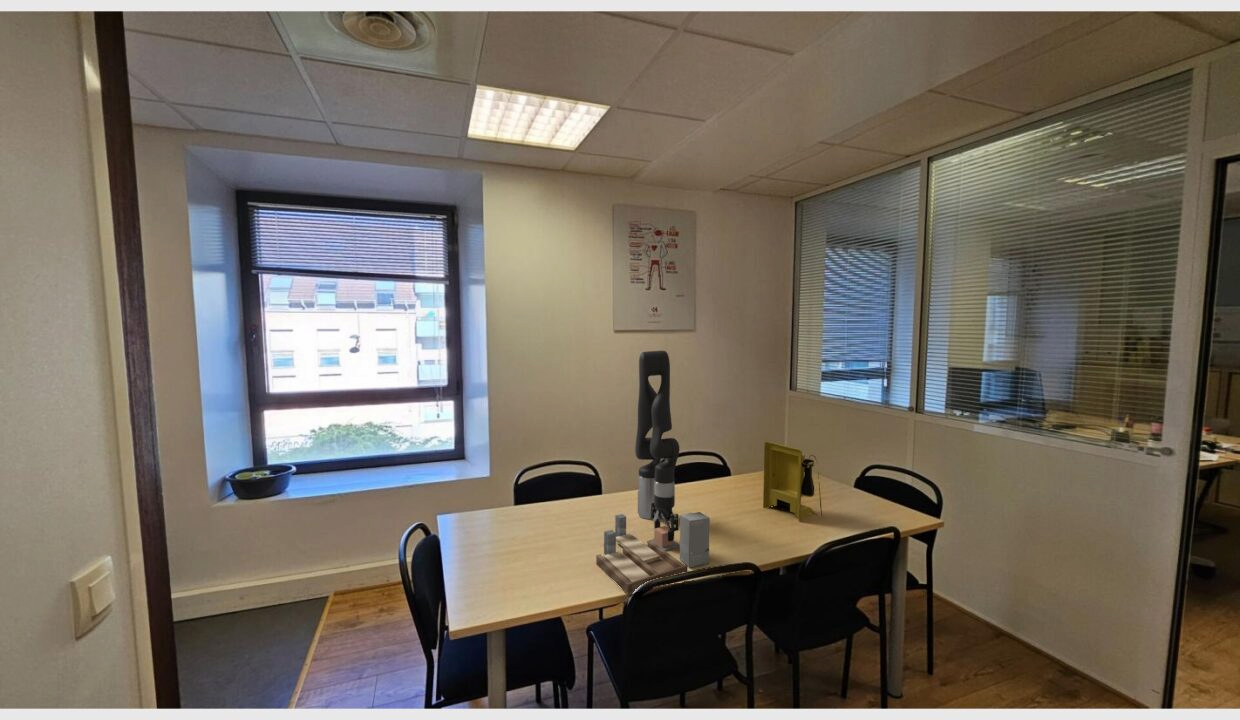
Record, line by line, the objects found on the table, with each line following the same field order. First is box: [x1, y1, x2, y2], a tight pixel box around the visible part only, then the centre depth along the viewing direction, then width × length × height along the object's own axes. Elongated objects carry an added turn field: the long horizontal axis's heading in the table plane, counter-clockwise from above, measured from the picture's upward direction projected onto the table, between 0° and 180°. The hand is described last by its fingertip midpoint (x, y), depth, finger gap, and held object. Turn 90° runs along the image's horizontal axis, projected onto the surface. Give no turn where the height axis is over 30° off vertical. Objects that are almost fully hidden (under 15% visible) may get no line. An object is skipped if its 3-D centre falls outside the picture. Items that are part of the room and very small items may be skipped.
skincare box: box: [679, 511, 710, 568], centre depth 155 cm, size 8×7×16 cm
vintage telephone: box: [762, 441, 823, 522], centre depth 196 cm, size 31×14×30 cm, turn 34°
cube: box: [653, 525, 673, 547], centre depth 167 cm, size 5×5×5 cm
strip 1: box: [614, 513, 660, 563], centre depth 162 cm, size 22×6×8 cm, turn 30°
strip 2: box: [603, 529, 649, 582], centre depth 148 cm, size 22×6×8 cm, turn 30°
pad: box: [646, 538, 680, 552], centre depth 167 cm, size 9×9×1 cm
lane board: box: [595, 540, 688, 596], centre depth 149 cm, size 21×22×3 cm
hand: (664, 536), depth 167 cm, fingers open, 8 cm apart
